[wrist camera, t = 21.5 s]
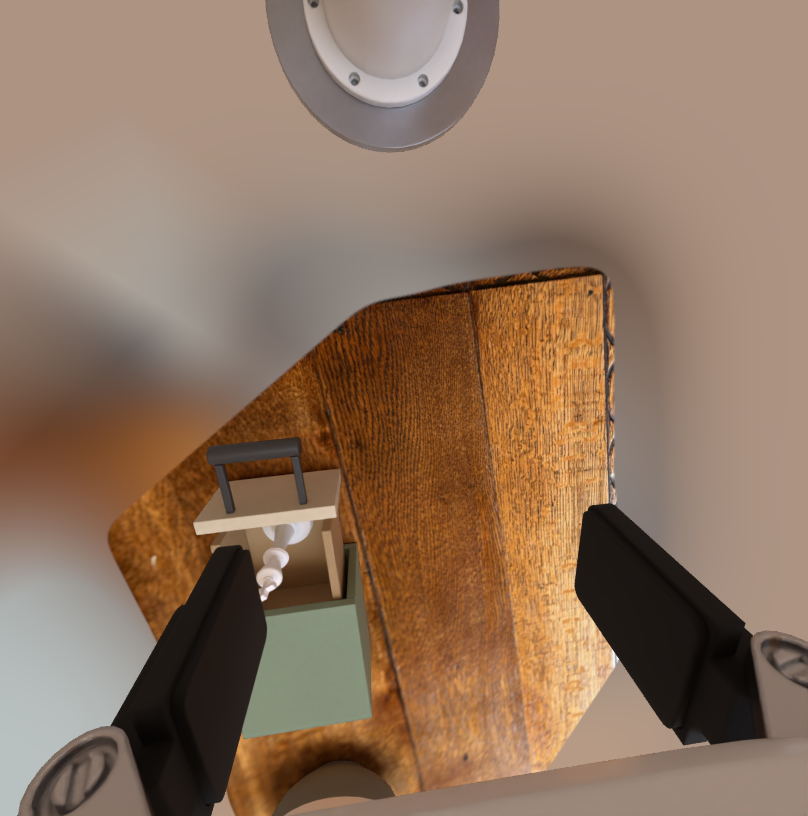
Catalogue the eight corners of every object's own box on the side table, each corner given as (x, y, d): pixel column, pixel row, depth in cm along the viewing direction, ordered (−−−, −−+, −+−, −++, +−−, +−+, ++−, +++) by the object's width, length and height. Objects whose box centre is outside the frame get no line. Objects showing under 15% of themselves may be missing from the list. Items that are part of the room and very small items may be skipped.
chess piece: (323, 524, 38) (309, 602, 29) (283, 549, 38) (257, 634, 29) (293, 489, 37) (268, 559, 27) (251, 515, 37) (213, 593, 27)
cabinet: (239, 557, 41) (208, 625, 32) (356, 542, 41) (355, 604, 33) (265, 658, 45) (243, 739, 37) (370, 642, 46) (371, 718, 38)
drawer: (208, 425, 35) (173, 455, 28) (331, 412, 36) (324, 439, 29) (250, 591, 41) (229, 648, 34) (355, 577, 42) (353, 630, 35)
